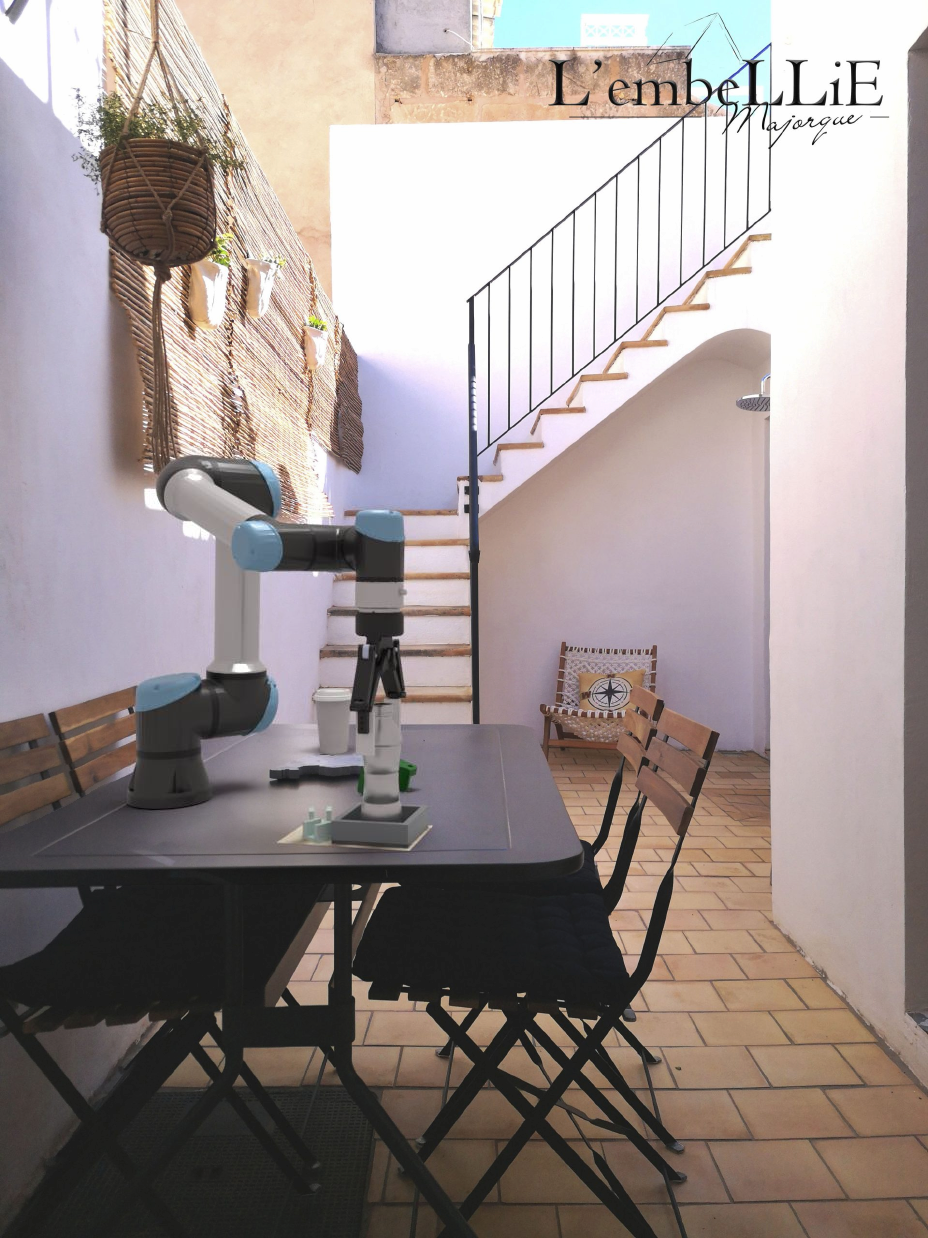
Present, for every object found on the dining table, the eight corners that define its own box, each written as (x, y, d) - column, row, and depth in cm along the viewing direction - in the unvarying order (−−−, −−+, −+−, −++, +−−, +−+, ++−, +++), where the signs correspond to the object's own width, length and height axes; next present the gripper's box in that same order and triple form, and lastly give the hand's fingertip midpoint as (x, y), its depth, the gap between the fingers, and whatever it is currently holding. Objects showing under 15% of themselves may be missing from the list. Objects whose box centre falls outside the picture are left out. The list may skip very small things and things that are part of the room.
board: (276, 849, 135) (276, 842, 135) (311, 825, 148) (311, 819, 148) (409, 857, 130) (409, 850, 130) (432, 831, 144) (432, 825, 144)
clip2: (301, 838, 137) (301, 821, 137) (317, 834, 139) (317, 817, 139) (318, 843, 134) (318, 826, 134) (333, 839, 136) (333, 822, 136)
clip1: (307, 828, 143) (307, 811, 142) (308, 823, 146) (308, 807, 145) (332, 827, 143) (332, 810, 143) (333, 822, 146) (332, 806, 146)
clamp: (383, 820, 168) (380, 783, 164) (359, 809, 171) (355, 771, 167) (421, 786, 177) (419, 749, 172) (397, 775, 180) (394, 739, 175)
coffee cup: (311, 749, 218) (310, 688, 217) (349, 747, 221) (349, 687, 220) (316, 756, 209) (316, 693, 208) (357, 754, 212) (356, 691, 211)
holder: (331, 844, 134) (331, 821, 134) (357, 823, 146) (357, 802, 145) (408, 848, 131) (407, 825, 131) (428, 827, 143) (428, 805, 143)
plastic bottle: (380, 823, 143) (380, 700, 142) (411, 830, 139) (411, 703, 138) (351, 832, 138) (350, 704, 137) (382, 839, 134) (381, 707, 133)
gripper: (378, 614, 124) (377, 764, 125) (423, 608, 149) (423, 733, 150) (327, 613, 126) (327, 761, 127) (381, 607, 150) (380, 731, 151)
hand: (379, 746), depth 138 cm, fingers open, 13 cm apart
